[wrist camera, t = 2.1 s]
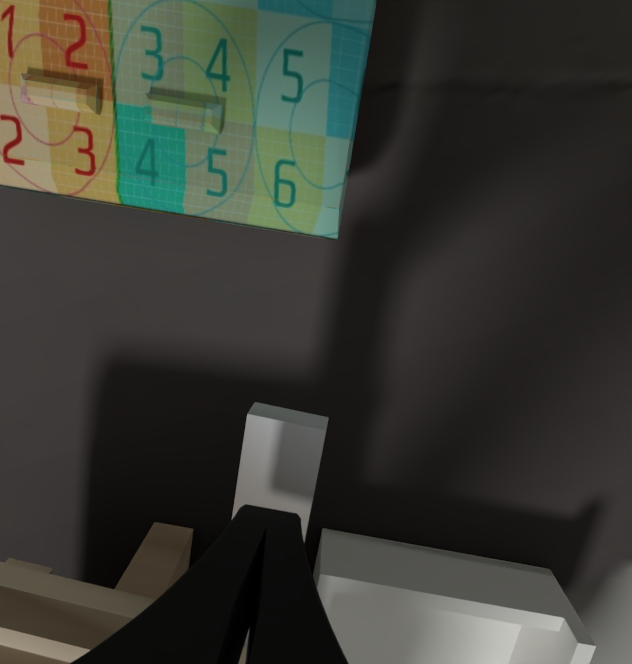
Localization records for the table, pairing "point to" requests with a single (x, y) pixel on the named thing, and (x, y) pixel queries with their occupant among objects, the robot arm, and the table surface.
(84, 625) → the tipping tray
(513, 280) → the table surface
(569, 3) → the table surface
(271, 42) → the puzzle game
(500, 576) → the bin
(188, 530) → the tan flat block
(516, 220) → the table surface
